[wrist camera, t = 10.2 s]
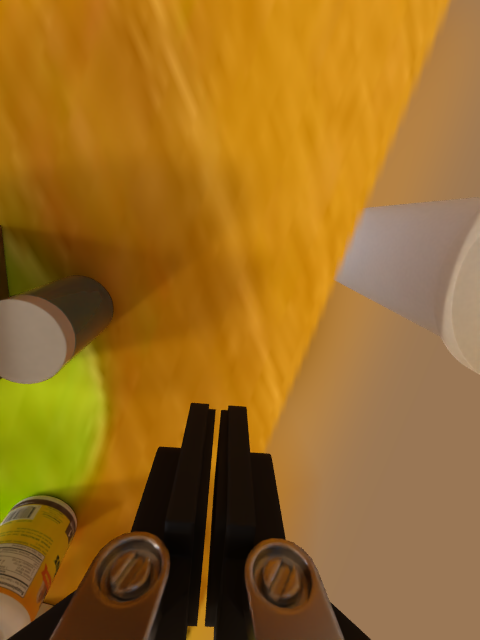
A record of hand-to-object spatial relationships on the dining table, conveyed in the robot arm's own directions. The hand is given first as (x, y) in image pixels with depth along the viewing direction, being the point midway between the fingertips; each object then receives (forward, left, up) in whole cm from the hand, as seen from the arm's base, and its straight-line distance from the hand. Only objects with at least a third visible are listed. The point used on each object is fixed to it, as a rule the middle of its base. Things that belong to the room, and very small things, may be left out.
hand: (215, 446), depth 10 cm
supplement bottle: (+13, +19, -14) cm, 27 cm away
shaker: (+10, 0, -10) cm, 14 cm away
